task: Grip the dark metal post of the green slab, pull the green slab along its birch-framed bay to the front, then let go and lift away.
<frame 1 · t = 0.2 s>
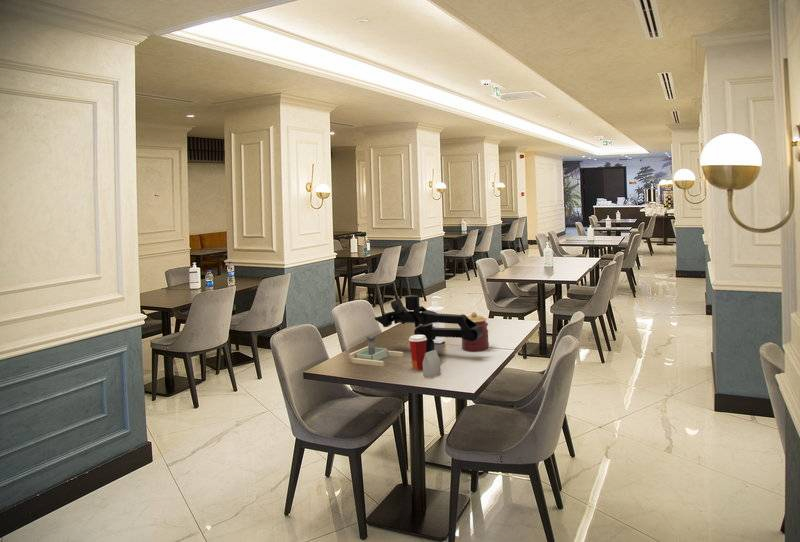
hand: (379, 316, 279), 17 cm above the table, tool horizontal, fingers open, 9 cm apart
paper cup: (419, 368, 245), on the table
bay: (376, 361, 260), on the table
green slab: (371, 347, 261), point 6 cm above the table, slide at 7.0 cm
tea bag: (432, 375, 234), on the table
canister: (475, 348, 273), on the table
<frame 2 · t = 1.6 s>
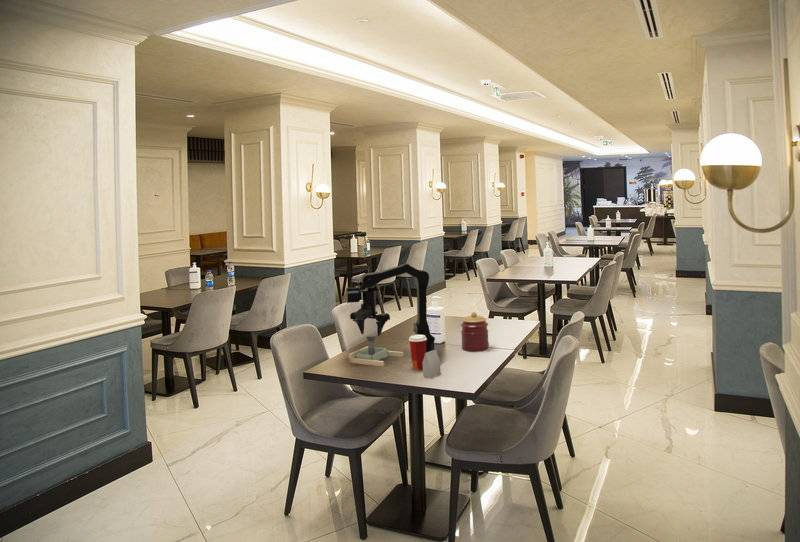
hand: (370, 334, 260), 12 cm above the table, tool pointing down, fingers open, 9 cm apart
nothing on the table moved.
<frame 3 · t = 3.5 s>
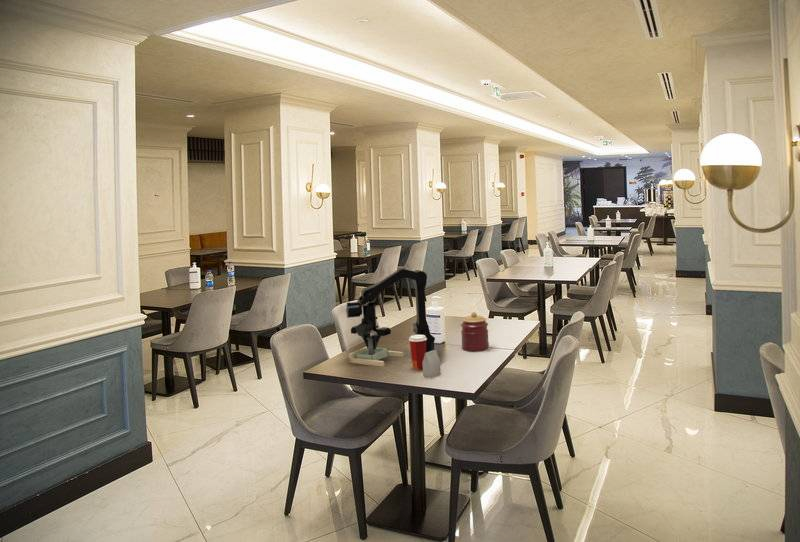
hand: (371, 348, 261), 6 cm above the table, tool pointing down, fingers closed on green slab, 3 cm apart
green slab: (371, 347, 261), point 6 cm above the table, slide at 7.0 cm, touching gripper
everything else where it was.
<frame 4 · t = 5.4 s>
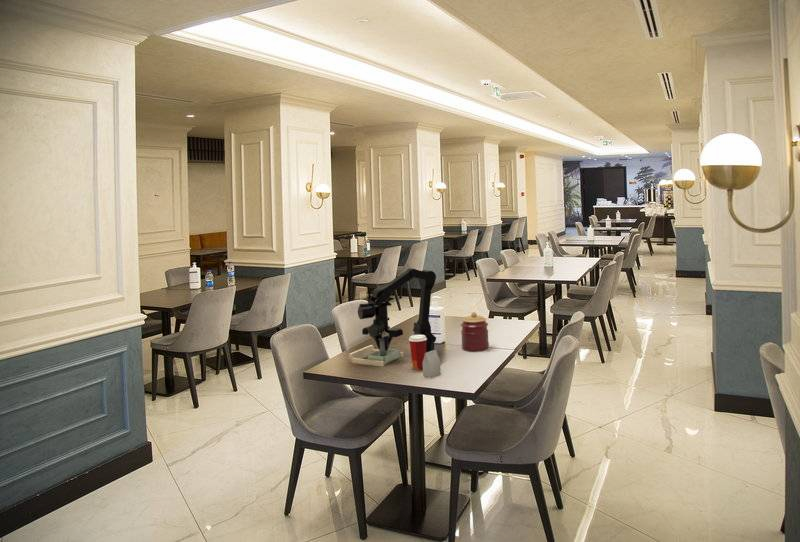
hand: (383, 350, 257), 5 cm above the table, tool pointing down, fingers closed on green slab, 3 cm apart
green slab: (383, 348, 257), point 6 cm above the table, slide at 0.5 cm, touching gripper
everything else where it was.
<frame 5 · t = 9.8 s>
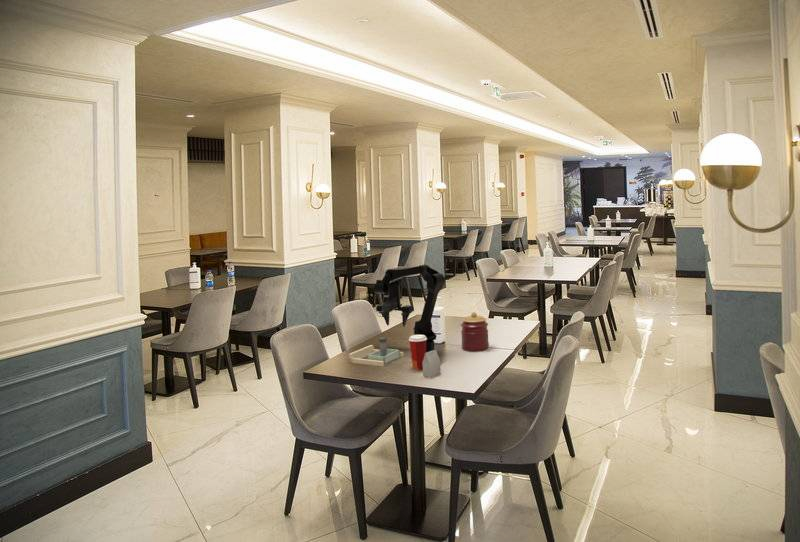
hand: (395, 325, 277), 12 cm above the table, tool pointing down, fingers open, 9 cm apart
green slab: (383, 348, 257), point 6 cm above the table, slide at 0.5 cm
everything else where it was.
at the end: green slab slide at 0.5 cm; the gripper is holding nothing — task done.
